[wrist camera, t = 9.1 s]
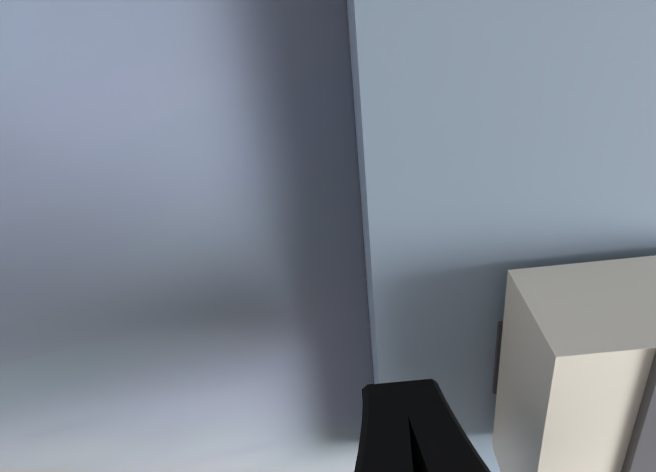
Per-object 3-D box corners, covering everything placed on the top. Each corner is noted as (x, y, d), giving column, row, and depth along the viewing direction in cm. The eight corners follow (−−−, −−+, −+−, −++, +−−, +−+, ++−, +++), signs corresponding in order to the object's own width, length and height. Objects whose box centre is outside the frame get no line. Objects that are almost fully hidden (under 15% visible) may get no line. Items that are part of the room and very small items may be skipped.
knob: (724, 248, 10) (836, 340, 8) (665, 429, 13) (737, 536, 11) (507, 269, 10) (561, 366, 8) (491, 446, 13) (529, 554, 11)
